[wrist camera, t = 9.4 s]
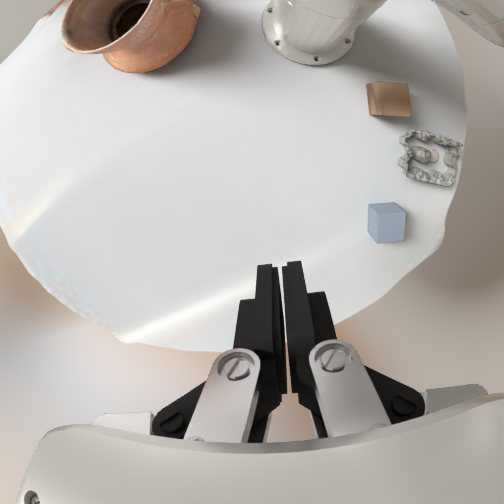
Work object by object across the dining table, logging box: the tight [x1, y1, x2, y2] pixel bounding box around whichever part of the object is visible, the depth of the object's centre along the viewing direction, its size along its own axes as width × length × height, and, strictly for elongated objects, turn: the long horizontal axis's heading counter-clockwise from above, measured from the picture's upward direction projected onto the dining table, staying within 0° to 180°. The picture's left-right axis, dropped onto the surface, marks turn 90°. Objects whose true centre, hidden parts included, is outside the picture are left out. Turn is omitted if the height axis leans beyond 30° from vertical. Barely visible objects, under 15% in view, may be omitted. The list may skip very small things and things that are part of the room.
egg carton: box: [397, 130, 463, 186], centre depth 32 cm, size 11×8×4 cm
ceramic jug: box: [61, 0, 201, 73], centre depth 21 cm, size 18×14×14 cm
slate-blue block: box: [368, 202, 406, 244], centre depth 37 cm, size 4×4×4 cm
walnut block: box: [366, 82, 411, 117], centre depth 29 cm, size 4×4×4 cm
